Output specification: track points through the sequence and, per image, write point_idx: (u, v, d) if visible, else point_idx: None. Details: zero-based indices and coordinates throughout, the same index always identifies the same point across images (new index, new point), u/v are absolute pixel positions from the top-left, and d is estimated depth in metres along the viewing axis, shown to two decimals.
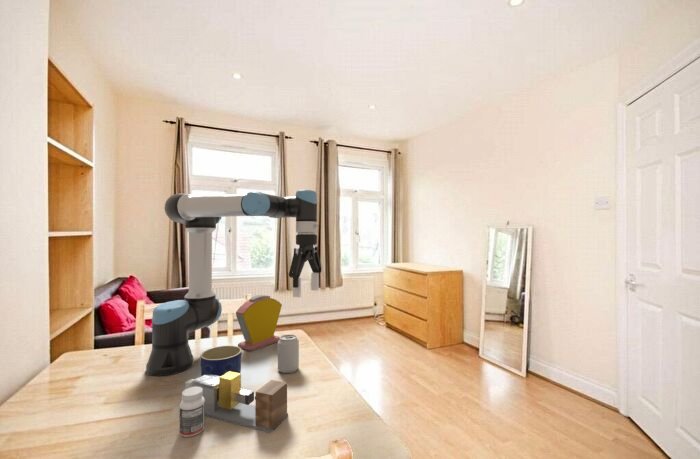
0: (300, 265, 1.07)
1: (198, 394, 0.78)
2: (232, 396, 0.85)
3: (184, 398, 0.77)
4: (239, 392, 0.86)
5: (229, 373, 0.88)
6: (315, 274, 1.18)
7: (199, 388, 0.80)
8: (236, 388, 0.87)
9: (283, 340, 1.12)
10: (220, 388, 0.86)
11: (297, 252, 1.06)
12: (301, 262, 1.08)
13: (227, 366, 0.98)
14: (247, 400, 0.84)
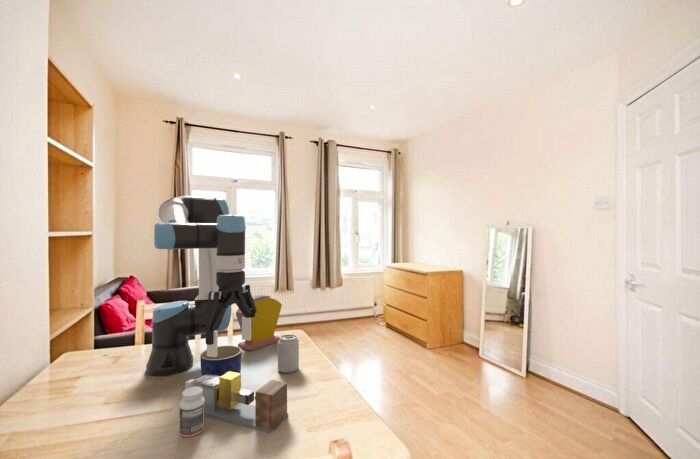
0: (217, 314, 0.82)
1: (198, 394, 0.78)
2: (232, 396, 0.85)
3: (184, 398, 0.77)
4: (239, 392, 0.86)
5: (229, 373, 0.88)
6: (246, 319, 0.93)
7: (199, 388, 0.80)
8: (236, 388, 0.87)
9: (283, 340, 1.12)
10: (220, 388, 0.86)
11: (212, 297, 0.81)
12: (219, 310, 0.83)
13: (227, 366, 0.98)
14: (247, 400, 0.84)
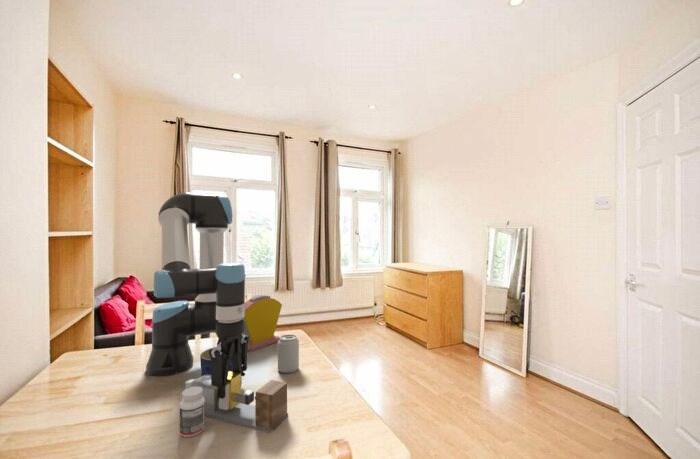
0: (224, 368, 0.84)
1: (198, 394, 0.78)
2: (232, 396, 0.85)
3: (184, 398, 0.77)
4: (239, 392, 0.86)
5: (229, 373, 0.88)
6: None
7: (199, 388, 0.80)
8: (236, 388, 0.87)
9: (283, 340, 1.12)
10: None
11: (214, 356, 0.82)
12: (224, 363, 0.85)
13: None
14: (247, 400, 0.84)
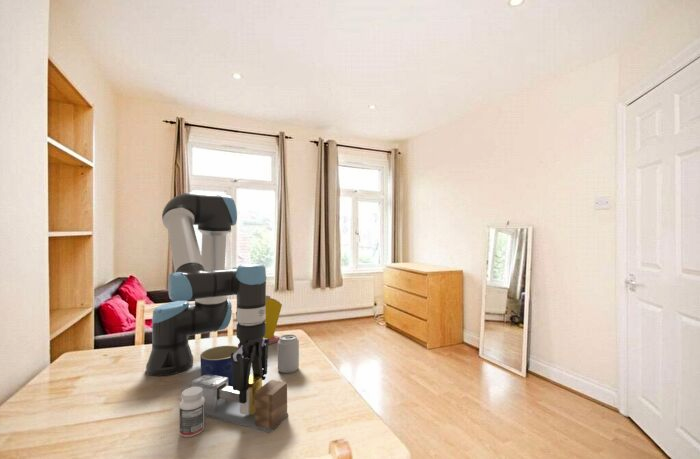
0: (245, 372, 0.82)
1: (198, 394, 0.78)
2: (253, 401, 0.83)
3: (184, 398, 0.77)
4: None
5: None
6: None
7: (199, 388, 0.80)
8: None
9: (283, 340, 1.12)
10: None
11: (236, 360, 0.79)
12: (246, 367, 0.82)
13: (227, 366, 0.98)
14: None
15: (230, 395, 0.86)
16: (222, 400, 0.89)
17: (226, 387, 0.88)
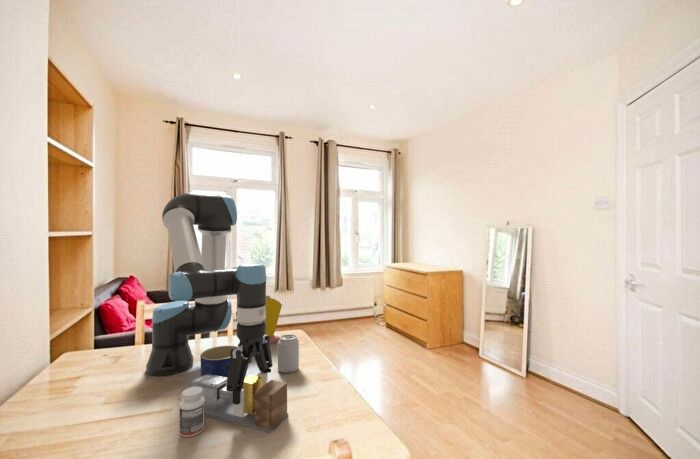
0: (242, 372, 0.81)
1: (198, 394, 0.78)
2: (253, 401, 0.83)
3: (184, 398, 0.77)
4: None
5: (249, 377, 0.86)
6: (262, 376, 0.89)
7: (199, 388, 0.80)
8: None
9: (283, 340, 1.12)
10: None
11: (235, 357, 0.79)
12: (243, 366, 0.81)
13: (227, 366, 0.98)
14: None
15: (230, 395, 0.86)
16: (222, 400, 0.89)
17: None
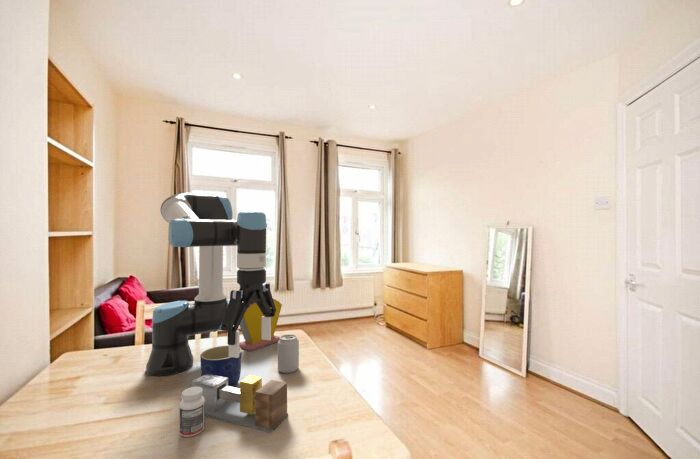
0: (239, 313, 0.80)
1: (198, 394, 0.78)
2: (253, 401, 0.83)
3: (184, 398, 0.77)
4: None
5: (249, 377, 0.86)
6: (266, 319, 0.91)
7: (199, 388, 0.80)
8: None
9: (283, 340, 1.12)
10: (241, 392, 0.84)
11: (234, 296, 0.79)
12: (241, 309, 0.81)
13: (227, 366, 0.98)
14: None
15: (230, 395, 0.86)
16: (222, 400, 0.89)
17: (226, 387, 0.88)
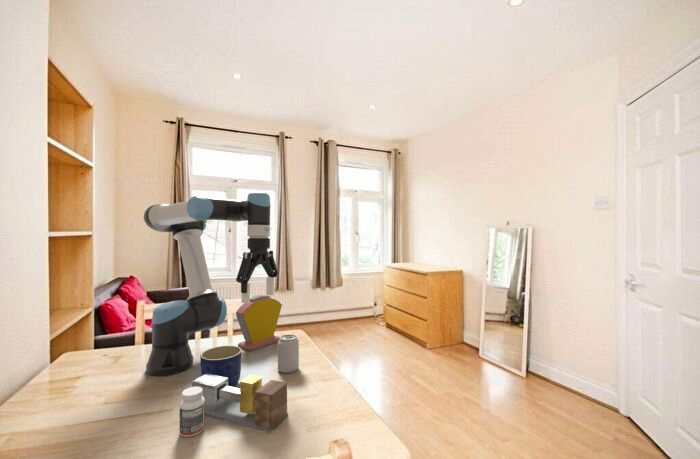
0: (249, 270, 1.04)
1: (198, 394, 0.78)
2: (253, 401, 0.83)
3: (184, 398, 0.77)
4: None
5: (249, 377, 0.86)
6: (270, 279, 1.15)
7: (199, 388, 0.80)
8: None
9: (283, 340, 1.12)
10: (241, 392, 0.84)
11: (246, 257, 1.03)
12: (251, 267, 1.05)
13: (227, 366, 0.98)
14: None
15: (230, 395, 0.86)
16: (222, 400, 0.89)
17: (226, 387, 0.88)
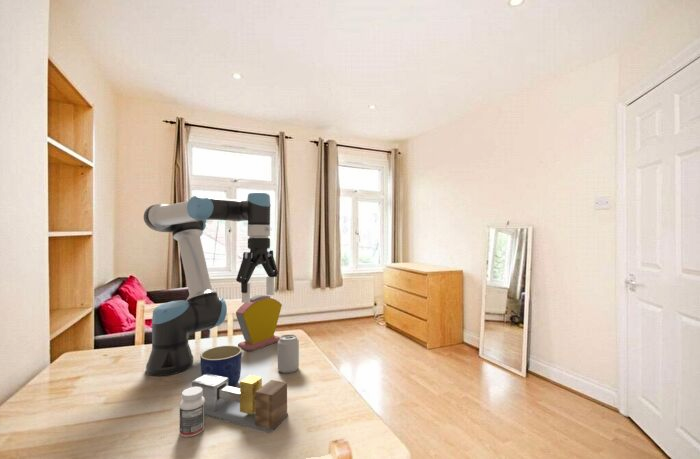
0: (250, 270, 1.04)
1: (198, 394, 0.78)
2: (253, 401, 0.83)
3: (184, 398, 0.77)
4: None
5: (249, 377, 0.86)
6: (270, 278, 1.15)
7: (199, 388, 0.80)
8: None
9: (283, 340, 1.12)
10: (241, 392, 0.84)
11: (246, 256, 1.03)
12: (251, 267, 1.05)
13: (227, 366, 0.98)
14: None
15: (230, 395, 0.86)
16: (222, 400, 0.89)
17: (226, 387, 0.88)
